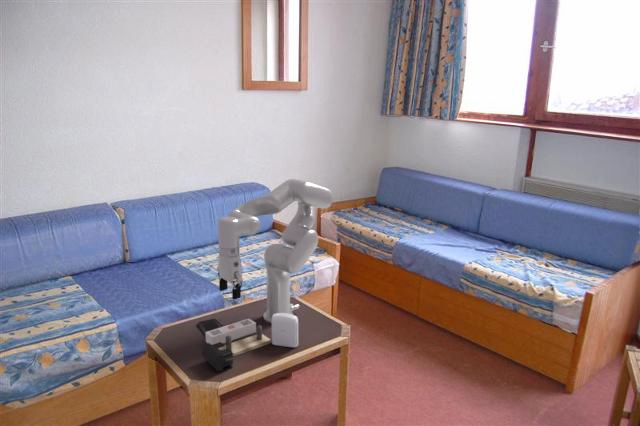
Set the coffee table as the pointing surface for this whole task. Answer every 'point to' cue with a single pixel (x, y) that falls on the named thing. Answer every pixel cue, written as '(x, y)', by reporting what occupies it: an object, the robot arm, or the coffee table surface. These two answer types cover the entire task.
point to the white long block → (231, 331)
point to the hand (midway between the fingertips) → (229, 294)
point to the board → (246, 343)
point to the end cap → (217, 356)
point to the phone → (209, 325)
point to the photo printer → (285, 330)
